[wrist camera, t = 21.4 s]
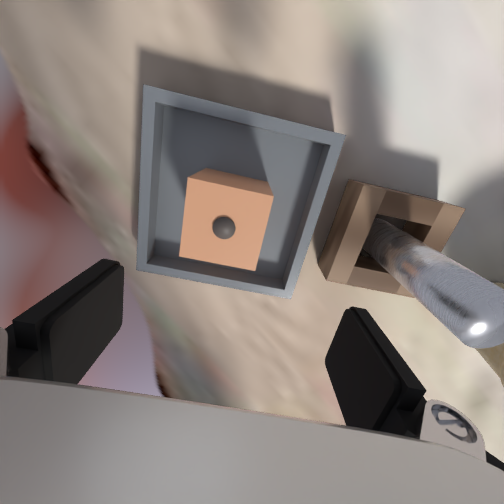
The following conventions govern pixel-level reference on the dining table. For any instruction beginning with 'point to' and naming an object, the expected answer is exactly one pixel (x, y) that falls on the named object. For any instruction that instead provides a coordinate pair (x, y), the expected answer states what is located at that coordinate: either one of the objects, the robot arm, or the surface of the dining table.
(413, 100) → the dining table surface
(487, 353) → the flower pot
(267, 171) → the grey square tray
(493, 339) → the steel pin
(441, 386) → the dining table surface
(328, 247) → the walnut bore block
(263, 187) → the orange block with knob
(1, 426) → the robot arm
